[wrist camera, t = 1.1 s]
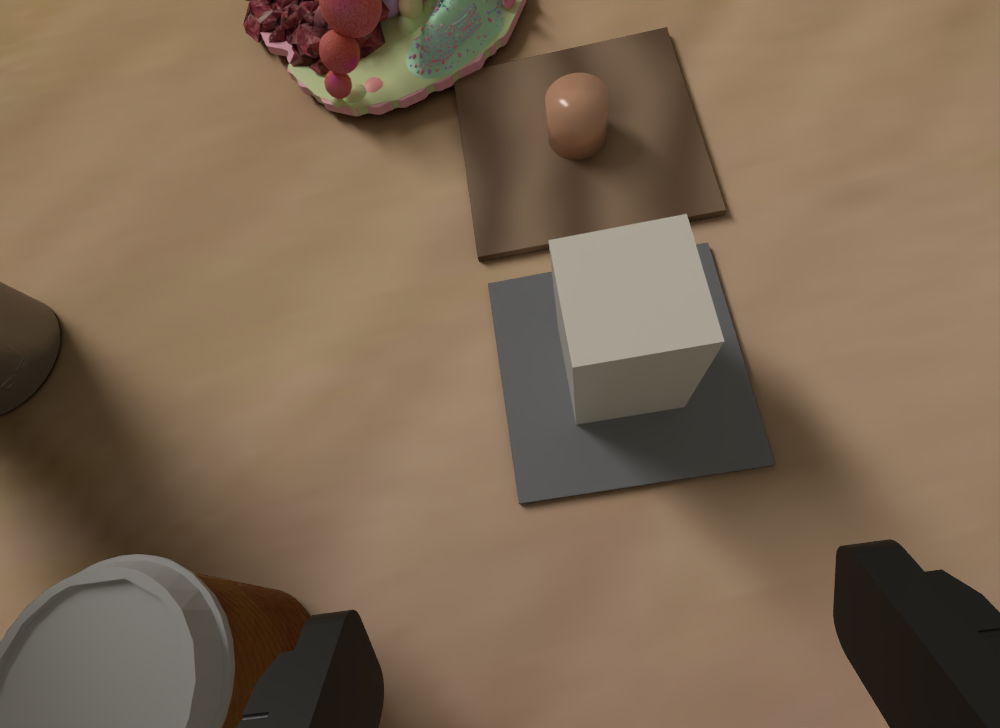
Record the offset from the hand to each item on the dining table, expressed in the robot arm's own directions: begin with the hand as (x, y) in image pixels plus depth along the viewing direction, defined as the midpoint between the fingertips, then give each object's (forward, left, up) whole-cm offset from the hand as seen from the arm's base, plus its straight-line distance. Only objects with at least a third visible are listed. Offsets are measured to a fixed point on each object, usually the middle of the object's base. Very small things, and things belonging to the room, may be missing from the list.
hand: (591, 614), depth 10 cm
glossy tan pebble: (-18, +23, -22) cm, 36 cm away
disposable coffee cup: (-12, -14, -23) cm, 29 cm away
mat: (-6, +11, -22) cm, 25 cm away
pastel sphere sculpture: (-40, +27, -22) cm, 53 cm away
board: (-18, +23, -22) cm, 37 cm away
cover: (-6, +11, -22) cm, 25 cm away
